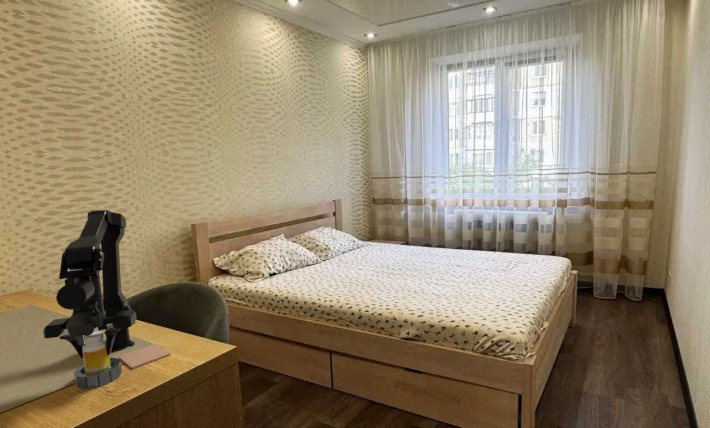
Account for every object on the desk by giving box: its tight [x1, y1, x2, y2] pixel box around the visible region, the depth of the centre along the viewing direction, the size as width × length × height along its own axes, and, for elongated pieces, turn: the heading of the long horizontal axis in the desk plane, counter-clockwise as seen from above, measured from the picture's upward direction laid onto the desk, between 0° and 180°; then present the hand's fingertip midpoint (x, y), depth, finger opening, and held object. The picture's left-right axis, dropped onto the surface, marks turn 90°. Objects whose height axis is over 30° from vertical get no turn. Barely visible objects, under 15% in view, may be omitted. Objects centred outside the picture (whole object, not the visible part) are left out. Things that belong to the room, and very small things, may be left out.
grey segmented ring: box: [73, 357, 123, 390], centre depth 102 cm, size 10×10×3 cm
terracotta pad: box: [118, 343, 172, 370], centre depth 113 cm, size 10×10×1 cm
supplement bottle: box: [82, 330, 111, 375], centre depth 102 cm, size 5×5×10 cm
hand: (96, 356), depth 102 cm, fingers closed on supplement bottle, 5 cm apart
